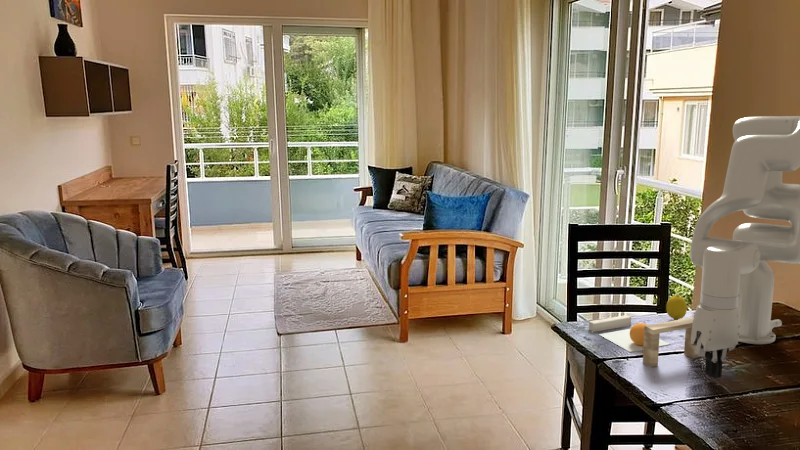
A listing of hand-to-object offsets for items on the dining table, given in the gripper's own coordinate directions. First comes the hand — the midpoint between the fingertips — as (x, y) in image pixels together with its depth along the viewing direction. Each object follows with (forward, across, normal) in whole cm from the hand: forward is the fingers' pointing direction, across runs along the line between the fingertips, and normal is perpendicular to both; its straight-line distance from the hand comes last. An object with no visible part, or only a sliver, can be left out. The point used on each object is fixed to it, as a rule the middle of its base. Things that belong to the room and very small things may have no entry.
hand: (713, 375), depth 137 cm
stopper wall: (+2, 0, -37) cm, 37 cm away
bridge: (+2, 0, -13) cm, 13 cm away
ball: (-2, 0, -23) cm, 23 cm away
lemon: (+2, -21, -34) cm, 40 cm away
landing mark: (+2, 0, -27) cm, 27 cm away
